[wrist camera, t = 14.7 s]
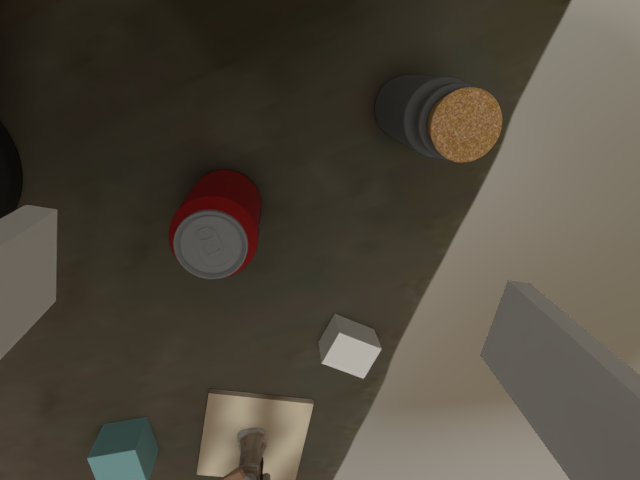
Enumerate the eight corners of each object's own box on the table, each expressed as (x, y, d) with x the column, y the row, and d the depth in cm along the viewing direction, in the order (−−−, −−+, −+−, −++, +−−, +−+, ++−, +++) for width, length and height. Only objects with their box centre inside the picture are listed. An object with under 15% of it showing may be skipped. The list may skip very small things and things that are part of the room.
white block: (318, 342, 51) (321, 363, 48) (334, 313, 50) (339, 332, 46) (357, 356, 52) (363, 378, 49) (373, 328, 51) (381, 349, 48)
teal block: (116, 456, 54) (101, 493, 49) (103, 423, 52) (87, 458, 48) (158, 449, 54) (147, 485, 50) (147, 416, 53) (135, 449, 48)
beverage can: (211, 244, 46) (190, 301, 35) (178, 184, 44) (145, 224, 32) (272, 218, 46) (272, 267, 34) (243, 156, 43) (232, 186, 32)
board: (197, 469, 56) (196, 474, 55) (209, 388, 52) (208, 393, 51) (294, 476, 58) (294, 482, 57) (313, 399, 54) (313, 403, 53)
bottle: (444, 120, 44) (523, 144, 30) (389, 150, 44) (442, 187, 30) (420, 62, 42) (493, 58, 28) (363, 94, 42) (407, 106, 28)
